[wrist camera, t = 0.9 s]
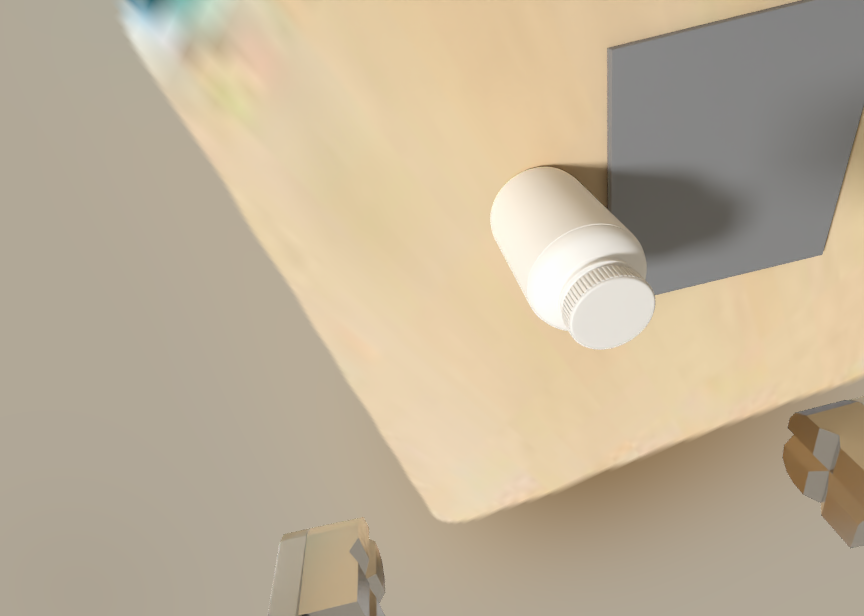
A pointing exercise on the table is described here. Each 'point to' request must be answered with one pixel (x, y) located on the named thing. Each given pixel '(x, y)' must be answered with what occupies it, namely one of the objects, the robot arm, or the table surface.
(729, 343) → the table surface
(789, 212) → the mat
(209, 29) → the table surface
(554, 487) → the table surface
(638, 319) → the pill bottle
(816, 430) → the robot arm
